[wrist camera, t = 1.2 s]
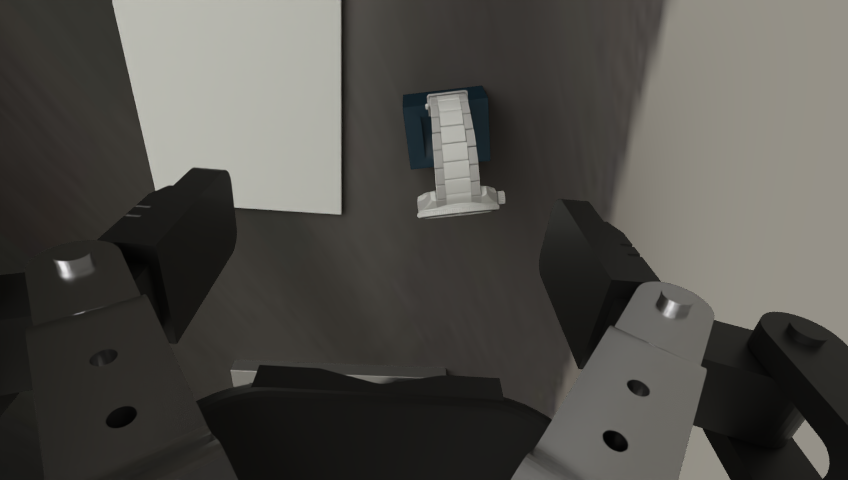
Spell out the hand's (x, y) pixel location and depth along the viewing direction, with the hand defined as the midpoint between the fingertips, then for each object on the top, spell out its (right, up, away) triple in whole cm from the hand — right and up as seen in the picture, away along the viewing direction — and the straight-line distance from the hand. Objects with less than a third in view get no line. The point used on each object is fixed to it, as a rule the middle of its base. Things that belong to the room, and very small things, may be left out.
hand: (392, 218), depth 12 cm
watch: (+2, +8, +23) cm, 24 cm away
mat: (-12, +10, +21) cm, 26 cm away
